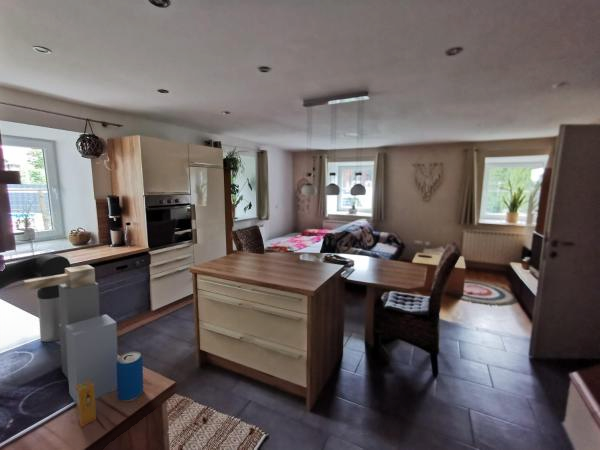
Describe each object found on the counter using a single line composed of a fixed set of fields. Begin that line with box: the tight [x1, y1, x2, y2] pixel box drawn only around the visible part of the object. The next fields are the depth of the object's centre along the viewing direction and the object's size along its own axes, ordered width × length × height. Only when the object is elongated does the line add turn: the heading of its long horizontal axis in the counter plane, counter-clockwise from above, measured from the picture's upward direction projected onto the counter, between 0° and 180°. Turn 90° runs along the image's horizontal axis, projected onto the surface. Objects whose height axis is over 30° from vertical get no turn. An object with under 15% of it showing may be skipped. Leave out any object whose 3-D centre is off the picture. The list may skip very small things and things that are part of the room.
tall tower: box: [59, 281, 101, 381], centre depth 89 cm, size 12×8×30 cm, turn 53°
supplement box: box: [75, 380, 97, 427], centre depth 72 cm, size 3×4×10 cm
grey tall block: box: [65, 314, 119, 405], centre depth 82 cm, size 8×10×21 cm
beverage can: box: [116, 351, 144, 402], centre depth 81 cm, size 6×6×12 cm
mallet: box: [23, 264, 96, 292], centre depth 83 cm, size 16×6×5 cm, turn 143°
